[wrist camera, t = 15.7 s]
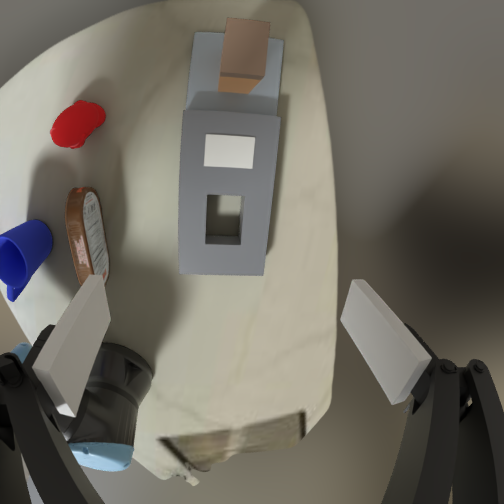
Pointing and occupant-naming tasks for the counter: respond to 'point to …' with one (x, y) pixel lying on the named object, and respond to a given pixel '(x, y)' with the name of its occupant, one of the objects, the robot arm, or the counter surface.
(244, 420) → the counter surface
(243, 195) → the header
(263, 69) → the plug
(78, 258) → the tin
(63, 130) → the cap
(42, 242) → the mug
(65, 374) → the robot arm
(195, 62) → the mat
